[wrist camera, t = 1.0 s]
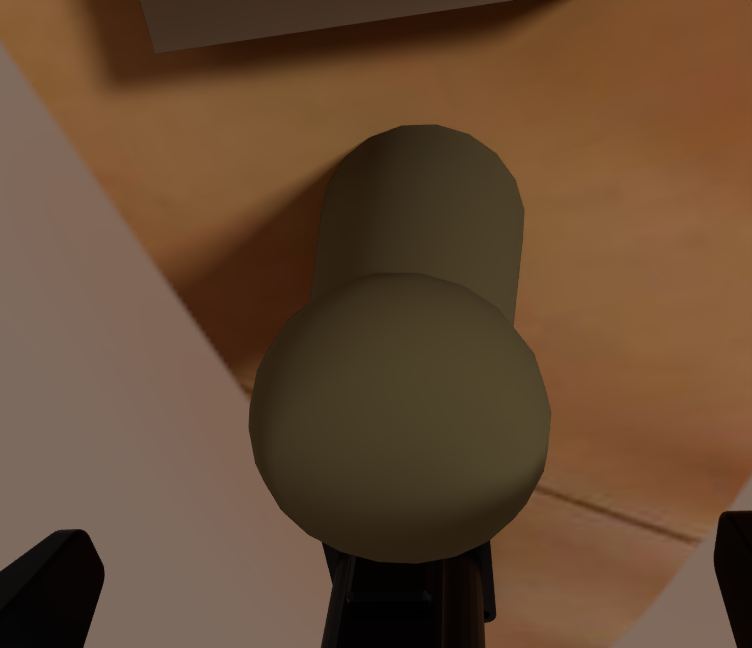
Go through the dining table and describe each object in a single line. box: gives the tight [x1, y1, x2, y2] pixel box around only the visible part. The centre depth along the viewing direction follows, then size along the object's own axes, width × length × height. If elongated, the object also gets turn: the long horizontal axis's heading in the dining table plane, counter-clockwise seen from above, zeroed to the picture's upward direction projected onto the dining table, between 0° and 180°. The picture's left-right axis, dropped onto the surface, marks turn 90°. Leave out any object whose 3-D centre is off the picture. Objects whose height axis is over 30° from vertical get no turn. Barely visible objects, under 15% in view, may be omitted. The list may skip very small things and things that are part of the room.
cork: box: [249, 125, 551, 564], centre depth 15 cm, size 6×6×11 cm
